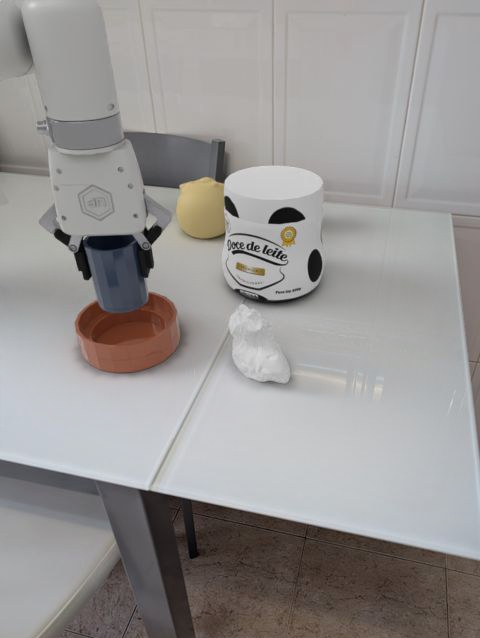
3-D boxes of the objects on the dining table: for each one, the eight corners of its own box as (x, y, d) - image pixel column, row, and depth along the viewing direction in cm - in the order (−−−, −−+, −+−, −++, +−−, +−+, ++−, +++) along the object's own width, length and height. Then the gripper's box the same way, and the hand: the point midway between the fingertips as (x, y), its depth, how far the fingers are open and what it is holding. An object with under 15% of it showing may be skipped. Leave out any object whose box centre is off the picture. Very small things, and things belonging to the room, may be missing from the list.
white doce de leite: (228, 316, 79) (222, 206, 68) (219, 264, 92) (212, 166, 81) (334, 306, 81) (345, 199, 70) (309, 257, 94) (315, 160, 83)
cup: (93, 314, 65) (77, 252, 60) (103, 287, 71) (89, 228, 65) (145, 312, 65) (134, 250, 60) (151, 286, 71) (141, 226, 65)
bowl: (72, 378, 67) (63, 349, 64) (94, 319, 78) (87, 292, 75) (176, 373, 68) (172, 344, 65) (183, 316, 79) (180, 289, 76)
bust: (238, 358, 74) (188, 322, 66) (273, 321, 73) (228, 280, 65) (278, 408, 65) (227, 374, 57) (318, 368, 65) (272, 327, 57)
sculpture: (240, 222, 107) (238, 171, 100) (227, 246, 98) (224, 193, 91) (189, 218, 109) (184, 168, 102) (171, 242, 99) (165, 189, 93)
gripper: (-5, 143, 51) (43, 291, 62) (164, 139, 52) (182, 286, 63) (18, 124, 57) (59, 262, 68) (170, 121, 58) (185, 258, 69)
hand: (118, 273), depth 65 cm, fingers closed on cup, 6 cm apart
